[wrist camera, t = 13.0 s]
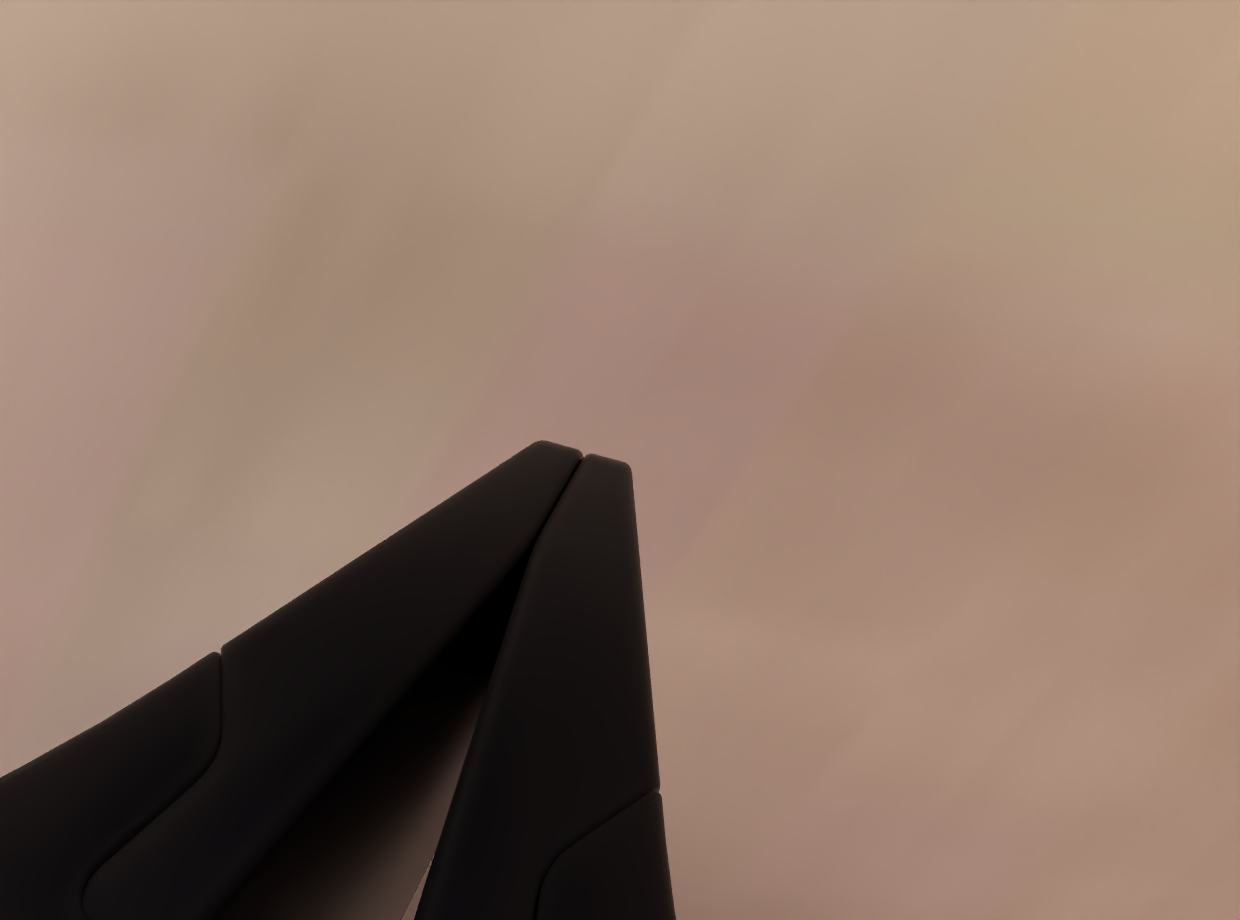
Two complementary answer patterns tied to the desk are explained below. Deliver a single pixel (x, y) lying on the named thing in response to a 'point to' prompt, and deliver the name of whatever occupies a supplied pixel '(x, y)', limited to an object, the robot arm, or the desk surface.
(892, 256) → the desk surface
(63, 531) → the desk surface
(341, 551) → the desk surface
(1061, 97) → the desk surface
